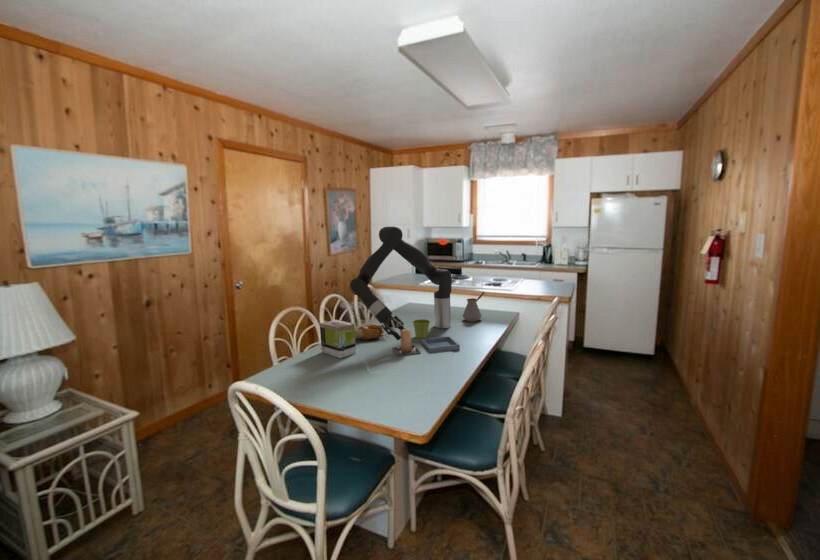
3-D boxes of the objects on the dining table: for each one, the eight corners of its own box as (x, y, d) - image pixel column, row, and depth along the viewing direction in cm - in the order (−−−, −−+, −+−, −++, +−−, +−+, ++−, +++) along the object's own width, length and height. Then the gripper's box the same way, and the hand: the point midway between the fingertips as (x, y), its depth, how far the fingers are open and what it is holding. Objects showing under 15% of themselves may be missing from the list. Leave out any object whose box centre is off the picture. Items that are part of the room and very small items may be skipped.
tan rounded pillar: (400, 350, 189) (399, 327, 187) (410, 348, 190) (409, 326, 188) (402, 353, 184) (401, 330, 182) (412, 352, 185) (411, 329, 183)
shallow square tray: (421, 343, 198) (421, 339, 198) (449, 340, 201) (449, 336, 201) (430, 353, 184) (430, 348, 184) (459, 349, 187) (459, 344, 187)
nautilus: (396, 338, 210) (380, 348, 198) (364, 331, 221) (347, 340, 209) (396, 324, 208) (379, 333, 196) (364, 318, 219) (346, 326, 207)
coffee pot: (475, 323, 232) (475, 298, 229) (459, 321, 239) (458, 296, 237) (492, 315, 248) (492, 292, 246) (476, 313, 255) (476, 290, 253)
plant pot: (430, 334, 213) (430, 319, 212) (430, 340, 204) (429, 323, 203) (413, 334, 214) (413, 319, 213) (412, 340, 205) (411, 323, 203)
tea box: (357, 353, 188) (355, 323, 186) (339, 359, 181) (337, 327, 178) (337, 347, 198) (335, 318, 196) (320, 352, 191) (318, 322, 189)
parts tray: (392, 349, 191) (392, 345, 191) (414, 347, 193) (414, 343, 193) (397, 357, 180) (397, 352, 180) (420, 354, 183) (420, 350, 182)
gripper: (378, 309, 181) (402, 335, 178) (391, 303, 194) (413, 327, 191) (368, 320, 183) (392, 346, 181) (382, 313, 196) (404, 337, 194)
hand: (403, 336), depth 186 cm, fingers open, 8 cm apart
